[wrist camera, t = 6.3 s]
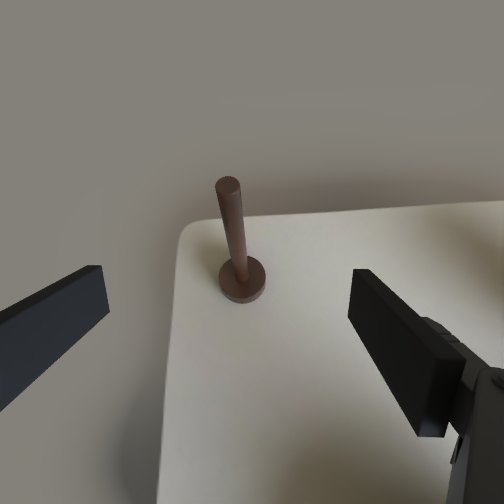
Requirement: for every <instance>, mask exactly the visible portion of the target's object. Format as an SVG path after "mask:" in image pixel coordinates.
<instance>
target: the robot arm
mask: <svg viewBox="0 0 504 504" xmlns="http://www.w3.org/2000/svg"><path fill="white" fill-rule="evenodd" d="M109 312H110V310H109V304H108V299H107V293H106V288H105V283H104V277H103V272H102V266H101V265H87V266H85V267H83V268H81V269H79V270H78V271H76V272H74V273H72V274H70V275H68V276H66V277H64V278H62V279H61V280H59V281H57V282H55V283H53V284H51V285H49V286H47V287H46V288H44V289H42V290H40V291H38V292H36V293H34V294H32V295H30V296H29V297H27V298H25V299H23V300H21V301H19V302H17V303H15V304H13V305H12V306H10V307H8V308H6V309H4V310H2V311H0V412H1V411H2V410H3V409H4V408H5V407H6V406H7V405H8V404H9V403H10V402H12V401H13V400H14V399H15V398H16V397H17V396H18V395H19V394H20V393H21V392H23V391H24V390H25V389H26V388H27V387H28V386H29V385H30V384H31V383H32V382H33V381H35V379H37V378H38V377H39V376H40V375H41V374H42V373H43V372H45V371H46V369H48V368H49V367H50V366H51V365H52V364H53V363H54V362H55V361H57V360H58V359H59V358H60V357H61V356H62V355H63V354H64V353H65V352H66V351H67V350H69V349H70V348H71V347H72V346H73V345H74V344H75V343H76V342H77V341H78V340H80V339H81V338H82V337H83V336H84V335H85V334H86V333H87V332H88V331H89V330H90V329H92V328H93V327H94V326H95V325H96V324H97V323H98V322H99V321H100V320H101V319H103V318H104V317H105V316H106V315H107V314H108V313H109ZM348 318H349V320H350V322H351V323H352V325H353V327H354V329H355V330H356V332H357V334H358V335H359V337H360V339H361V341H362V342H363V344H364V346H365V347H366V349H367V351H368V353H369V354H370V356H371V358H372V359H373V361H374V363H375V365H376V366H377V368H378V370H379V371H380V373H381V375H382V377H383V378H384V380H385V382H386V383H387V385H388V387H389V389H390V390H391V392H392V394H393V395H394V397H395V399H396V401H397V402H398V404H399V406H400V407H401V409H402V411H403V413H404V414H405V416H406V418H407V419H408V421H409V423H410V425H411V426H412V428H413V430H414V431H415V433H416V435H417V437H441V438H444V436H445V433H446V430H447V426H448V423H449V422H450V423H451V425H452V426H453V427H454V429H455V430H456V432H457V433H458V434H459V436H458V439H457V442H456V445H455V448H454V452H453V455H452V458H451V461H450V464H452V470H451V476H450V482H449V488H448V494H447V500H446V504H504V369H501V368H495V367H490V366H489V365H488V364H486V363H485V362H484V361H483V360H482V359H481V358H479V357H478V356H477V355H476V354H475V353H474V352H472V351H471V350H470V349H469V348H468V347H467V346H465V345H464V344H463V343H460V340H458V339H457V338H456V337H455V336H454V335H451V333H450V332H449V331H448V330H447V329H446V328H445V327H443V326H442V325H441V324H439V323H437V322H435V321H433V320H432V319H430V318H428V317H420V316H419V315H418V314H417V313H416V312H415V311H414V310H413V309H412V308H410V307H409V306H408V305H407V304H406V303H405V302H404V301H403V300H402V299H401V298H400V297H398V296H397V295H396V294H395V293H394V292H393V291H392V290H391V289H390V288H389V287H388V286H387V285H385V284H384V283H383V282H382V281H381V280H380V279H379V278H378V277H377V276H376V275H375V274H374V273H372V272H371V271H370V270H369V269H353V277H352V285H351V293H350V302H349V310H348Z"/></svg>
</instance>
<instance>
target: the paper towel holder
mask: <svg viewBox="0 0 504 504" xmlns="http://www.w3.org/2000/svg"><path fill="white" fill-rule="evenodd" d="M215 188H216V193H217V197H218V201H219V206H220V211H221V215H222V220H223V224H224V229H225V233H226V238H227V242H228V247H229V251H230V256H231V259H229V260H228V261H227V262H225V264H224V265H223V266H222V268H221V270H220V273H219V283H220V286H221V289H222V291H223V293H224V295H225V296H226V297H227V298H228V299H230V300H231V301H233V302H236V303H249V302H252V301H254V300H255V299H257V298H258V297H259V296H260V295H261V294H262V292H263V290H264V288H265V280H266V275H265V270H264V268H263V266H262V265H261V263H260V262H259V261H258V260H256V259H255V258H253V257H250V256H247V251H246V241H245V231H244V221H243V212H242V201H241V191H240V183H239V181H238V180H237V179H236V178H234V177H231V176H226V177H222V178H220V179H219V180H218V181H217V182H216V185H215Z"/></svg>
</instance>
